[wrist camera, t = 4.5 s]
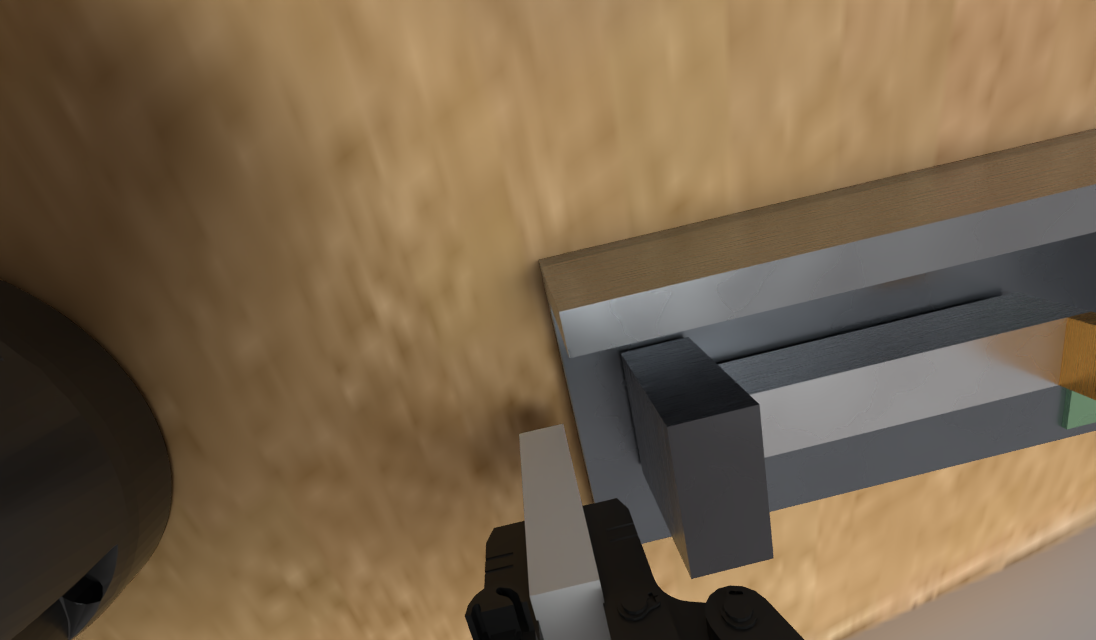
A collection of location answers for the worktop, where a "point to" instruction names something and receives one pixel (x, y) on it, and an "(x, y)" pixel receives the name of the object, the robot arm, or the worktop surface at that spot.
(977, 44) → the worktop surface
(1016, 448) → the rail
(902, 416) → the capped sliding bar
